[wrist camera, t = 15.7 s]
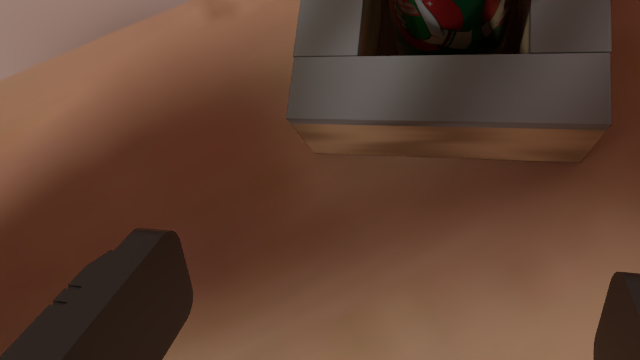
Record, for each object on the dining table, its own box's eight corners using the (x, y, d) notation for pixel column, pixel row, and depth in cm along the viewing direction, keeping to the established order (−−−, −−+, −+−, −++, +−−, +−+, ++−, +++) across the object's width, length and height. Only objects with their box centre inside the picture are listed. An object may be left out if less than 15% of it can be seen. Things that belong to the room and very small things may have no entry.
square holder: (312, 153, 25) (284, 118, 21) (338, -58, 28) (317, -126, 24) (581, 162, 22) (613, 124, 18) (579, -75, 25) (606, -157, 21)
